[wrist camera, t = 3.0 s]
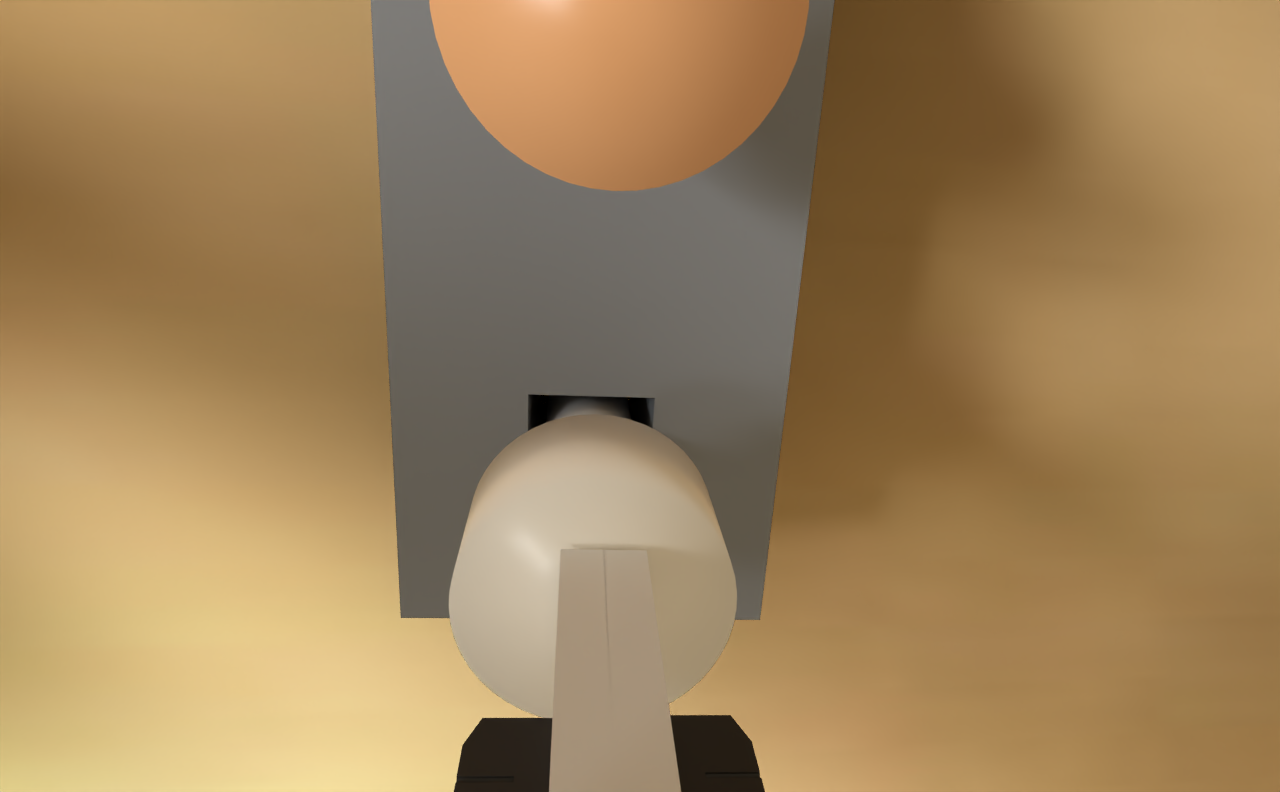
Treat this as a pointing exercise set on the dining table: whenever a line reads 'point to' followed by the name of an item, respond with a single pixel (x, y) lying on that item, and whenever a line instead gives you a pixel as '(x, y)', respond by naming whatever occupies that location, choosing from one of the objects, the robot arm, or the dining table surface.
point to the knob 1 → (620, 80)
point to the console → (581, 301)
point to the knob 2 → (587, 547)
